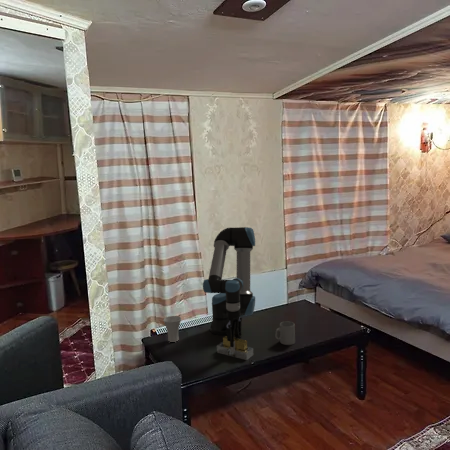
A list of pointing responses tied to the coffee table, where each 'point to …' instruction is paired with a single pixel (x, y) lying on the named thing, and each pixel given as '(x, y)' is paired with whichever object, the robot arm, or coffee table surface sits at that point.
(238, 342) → the yellow rectangular block
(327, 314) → the coffee table surface
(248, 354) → the bracket
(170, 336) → the cup
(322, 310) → the coffee table surface
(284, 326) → the mug
